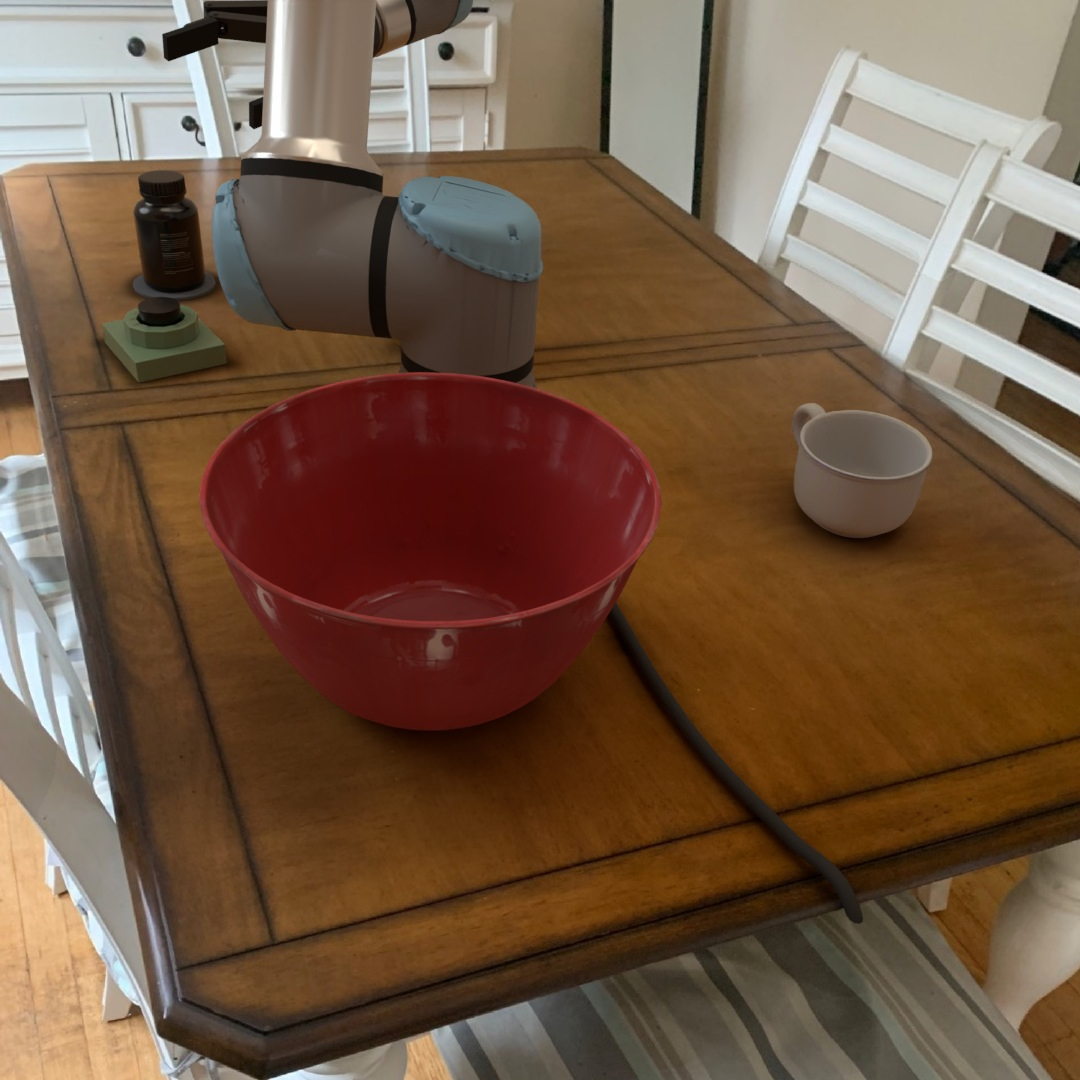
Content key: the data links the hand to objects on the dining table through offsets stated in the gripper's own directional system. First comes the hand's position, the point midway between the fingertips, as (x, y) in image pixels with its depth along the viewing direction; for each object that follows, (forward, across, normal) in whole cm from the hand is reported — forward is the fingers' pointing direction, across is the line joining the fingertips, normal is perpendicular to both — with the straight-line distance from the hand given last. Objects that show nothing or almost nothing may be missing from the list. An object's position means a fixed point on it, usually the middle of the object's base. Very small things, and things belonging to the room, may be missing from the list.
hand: (207, 81), depth 116 cm
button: (+17, -14, -13) cm, 26 cm away
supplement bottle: (+7, -2, -22) cm, 23 cm away
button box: (+18, -15, -16) cm, 28 cm away
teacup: (-7, -76, -1) cm, 77 cm away
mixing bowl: (+32, -64, +2) cm, 72 cm away
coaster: (+7, -2, -22) cm, 23 cm away
